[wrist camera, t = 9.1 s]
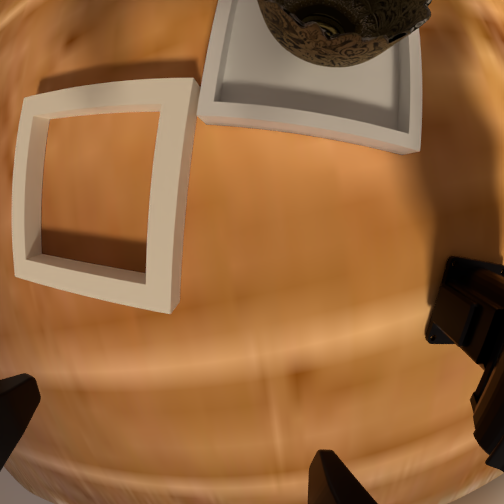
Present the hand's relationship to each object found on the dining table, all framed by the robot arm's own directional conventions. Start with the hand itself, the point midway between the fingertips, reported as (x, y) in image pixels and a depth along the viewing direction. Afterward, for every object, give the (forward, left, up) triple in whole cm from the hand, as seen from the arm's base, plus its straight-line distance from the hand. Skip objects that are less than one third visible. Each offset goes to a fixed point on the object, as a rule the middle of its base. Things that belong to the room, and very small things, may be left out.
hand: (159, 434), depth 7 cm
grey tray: (-4, -16, -12) cm, 21 cm away
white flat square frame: (+9, -6, -12) cm, 16 cm away
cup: (-4, -16, -11) cm, 20 cm away
